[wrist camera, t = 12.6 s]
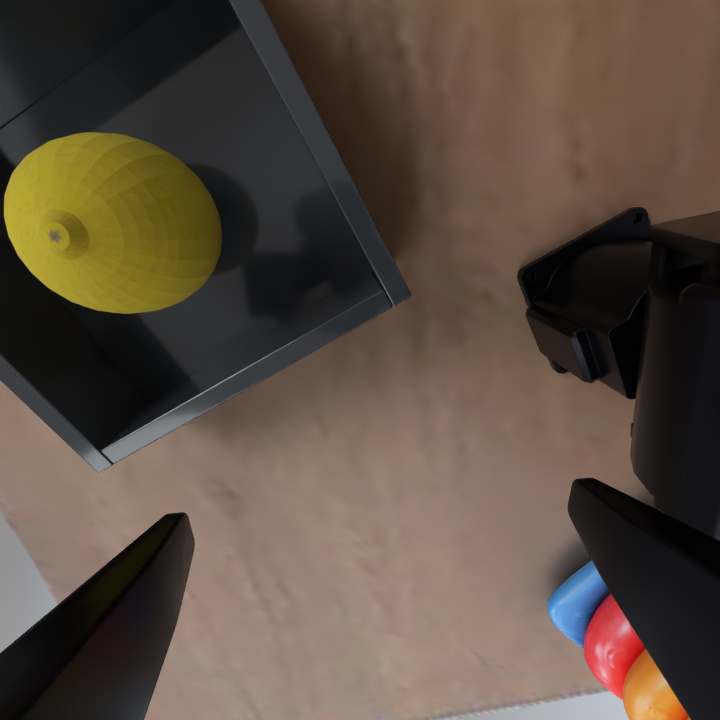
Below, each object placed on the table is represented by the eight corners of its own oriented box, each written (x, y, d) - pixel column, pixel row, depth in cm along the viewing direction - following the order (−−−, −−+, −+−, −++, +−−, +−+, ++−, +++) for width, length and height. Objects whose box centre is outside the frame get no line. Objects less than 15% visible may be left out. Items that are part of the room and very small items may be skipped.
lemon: (201, 311, 18) (112, 382, 11) (86, 236, 16) (-115, 257, 9) (266, 212, 17) (215, 213, 9) (146, 120, 15) (-31, 32, 8)
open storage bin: (221, -51, 14) (163, -193, 9) (391, 274, 19) (412, 297, 14) (-71, 163, 16) (-253, 142, 11) (153, 410, 21) (97, 473, 16)
